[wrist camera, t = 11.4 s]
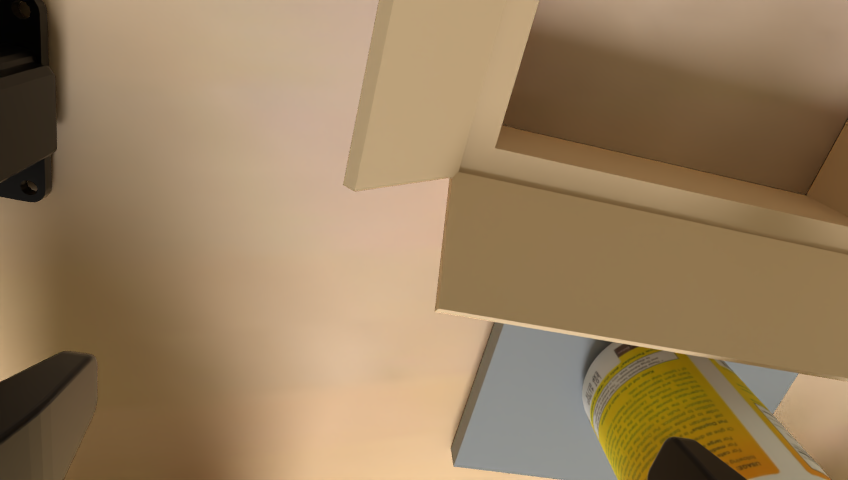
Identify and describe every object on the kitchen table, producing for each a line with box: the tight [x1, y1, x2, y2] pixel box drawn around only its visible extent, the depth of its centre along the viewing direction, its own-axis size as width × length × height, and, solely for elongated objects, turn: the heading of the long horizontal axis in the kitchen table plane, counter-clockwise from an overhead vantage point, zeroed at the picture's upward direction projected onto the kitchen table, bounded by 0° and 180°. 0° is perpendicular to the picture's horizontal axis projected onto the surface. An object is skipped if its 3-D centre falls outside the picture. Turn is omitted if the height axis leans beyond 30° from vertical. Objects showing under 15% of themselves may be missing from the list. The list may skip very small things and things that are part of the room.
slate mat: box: [451, 322, 799, 480], centre depth 24 cm, size 13×12×1 cm
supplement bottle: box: [582, 342, 831, 480], centre depth 18 cm, size 6×6×10 cm
